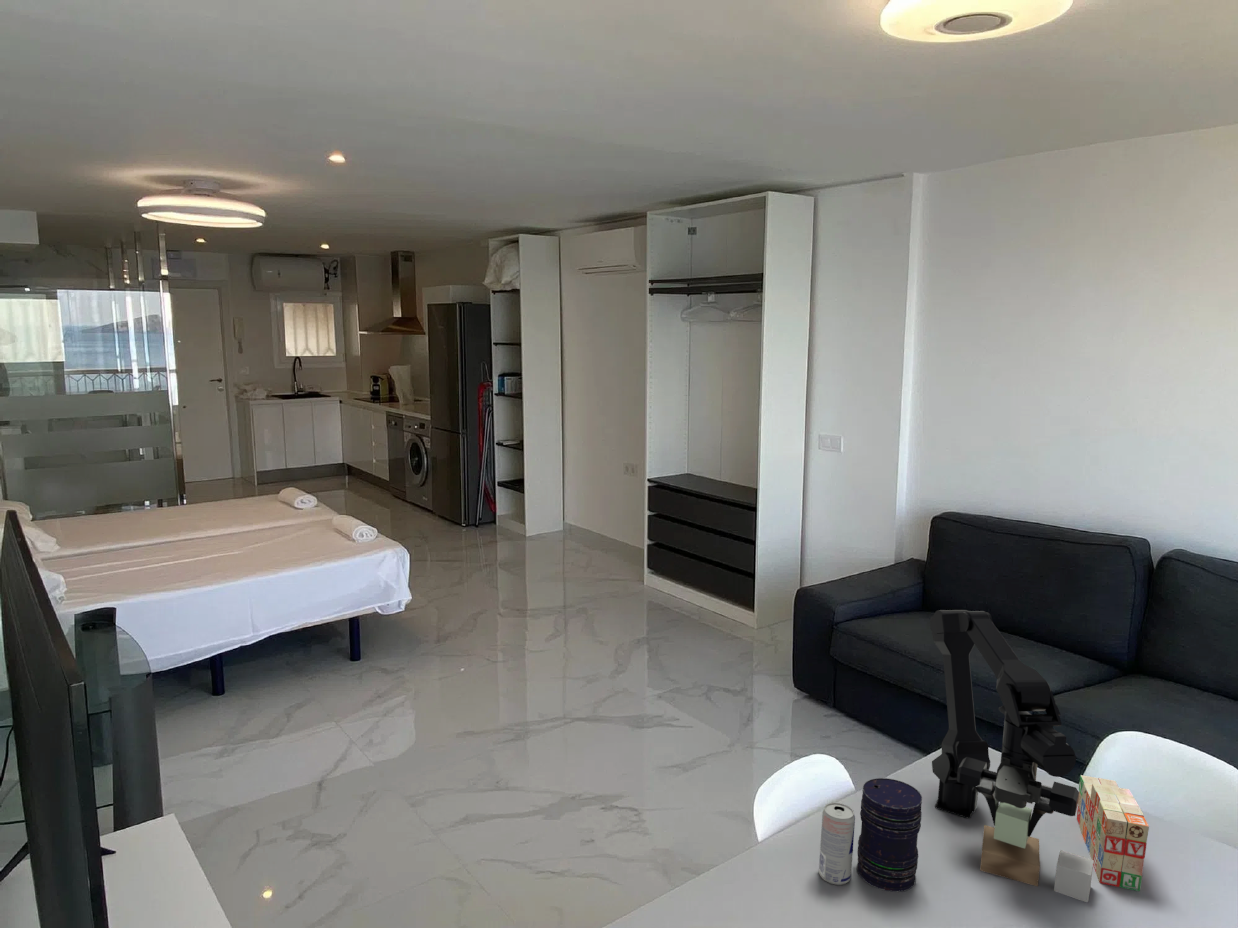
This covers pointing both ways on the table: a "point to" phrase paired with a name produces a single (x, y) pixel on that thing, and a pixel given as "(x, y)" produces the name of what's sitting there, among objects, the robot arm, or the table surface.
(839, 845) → the energy drink
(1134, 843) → the stack of blocks
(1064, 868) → the grey cube
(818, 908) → the table surface
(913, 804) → the storage jar
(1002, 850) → the walnut block
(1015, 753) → the robot arm
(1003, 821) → the sage cube
